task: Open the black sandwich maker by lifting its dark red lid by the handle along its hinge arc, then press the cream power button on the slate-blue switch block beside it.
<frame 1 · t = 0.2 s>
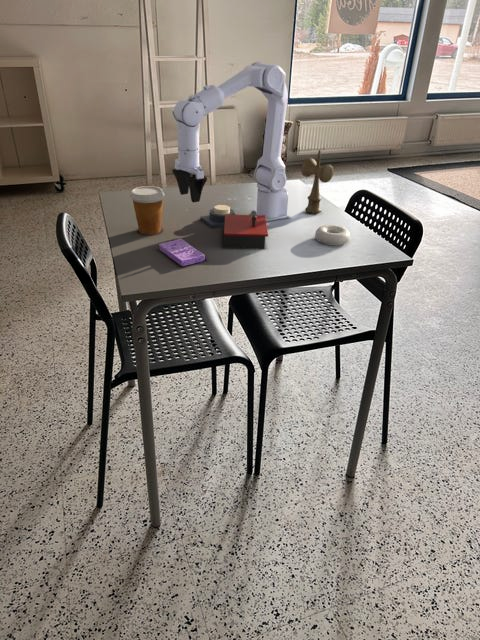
hand: (189, 197, 141), 10 cm above the table, tool pointing down, fingers open, 7 cm apart
power button: (222, 210, 153), point 3 cm above the table, slide at 0.1 cm
kendama: (312, 212, 164), on the table
switch block: (222, 220, 155), on the table
sponge: (181, 256, 132), on the table
donut: (331, 241, 144), on the table
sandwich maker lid: (245, 219, 140), point 6 cm above the table, hinge at 0.0°
disposable coffee cup: (150, 231, 146), on the table
sandwich maker: (243, 237, 143), on the table
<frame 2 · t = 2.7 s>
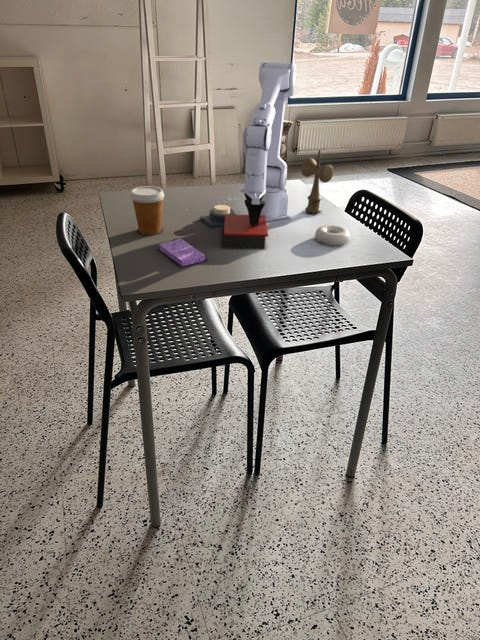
hand: (253, 221, 141), 5 cm above the table, tool pointing down, fingers closed on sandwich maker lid, 5 cm apart
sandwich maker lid: (245, 219, 140), point 6 cm above the table, hinge at 0.0°, touching gripper
everything else where it was.
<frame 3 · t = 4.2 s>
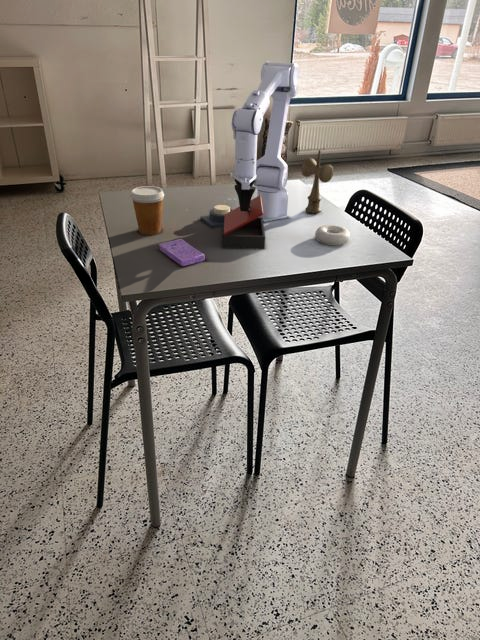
hand: (244, 207, 138), 9 cm above the table, tool pointing down, fingers closed on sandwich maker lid, 5 cm apart
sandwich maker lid: (240, 209, 139), point 8 cm above the table, hinge at 31.0°, touching gripper
everything else where it was.
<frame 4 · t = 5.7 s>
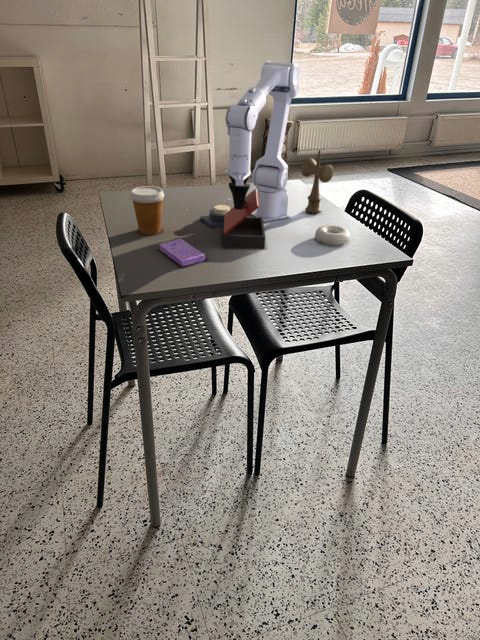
hand: (238, 204, 138), 10 cm above the table, tool pointing down, fingers open, 7 cm apart
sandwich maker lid: (236, 207, 138), point 9 cm above the table, hinge at 42.2°
everything else where it was.
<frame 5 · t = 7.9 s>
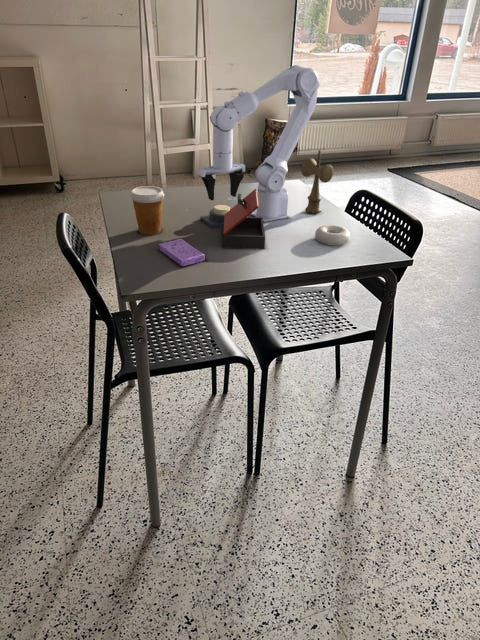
hand: (222, 197, 151), 7 cm above the table, tool pointing down, fingers open, 7 cm apart
nothing on the table moved.
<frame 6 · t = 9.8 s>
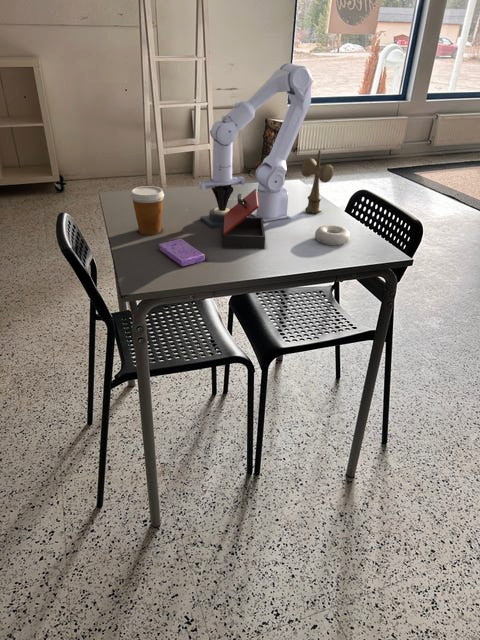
hand: (222, 209, 153), 4 cm above the table, tool pointing down, fingers closed, pressing on power button
power button: (222, 212, 153), point 3 cm above the table, slide at -0.6 cm, touching gripper
everything else where it was.
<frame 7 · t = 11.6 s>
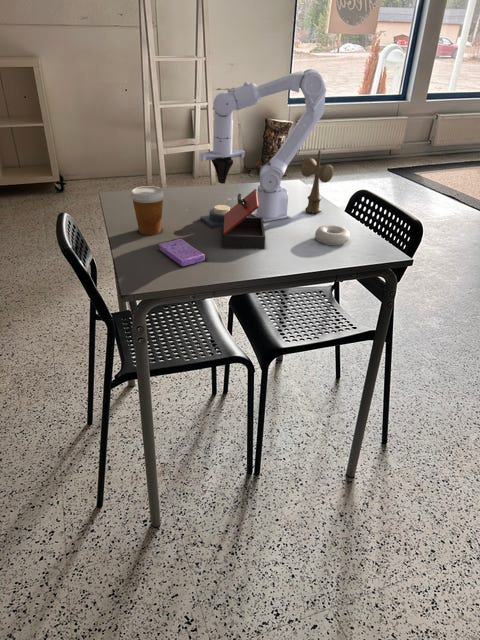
hand: (221, 182, 154), 10 cm above the table, tool pointing down, fingers closed
power button: (222, 210, 153), point 3 cm above the table, slide at 0.1 cm
everything else where it was.
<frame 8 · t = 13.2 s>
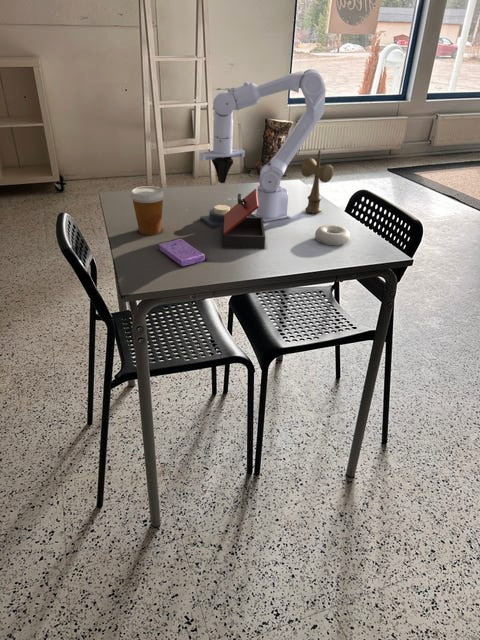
hand: (221, 182, 154), 10 cm above the table, tool pointing down, fingers closed
nothing on the table moved.
at the end: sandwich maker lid at +42° (first picture: +0°); power button pushed in 1.4 cm at the most during the clip, back to where it started at the end; power button slide at 0.1 cm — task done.
